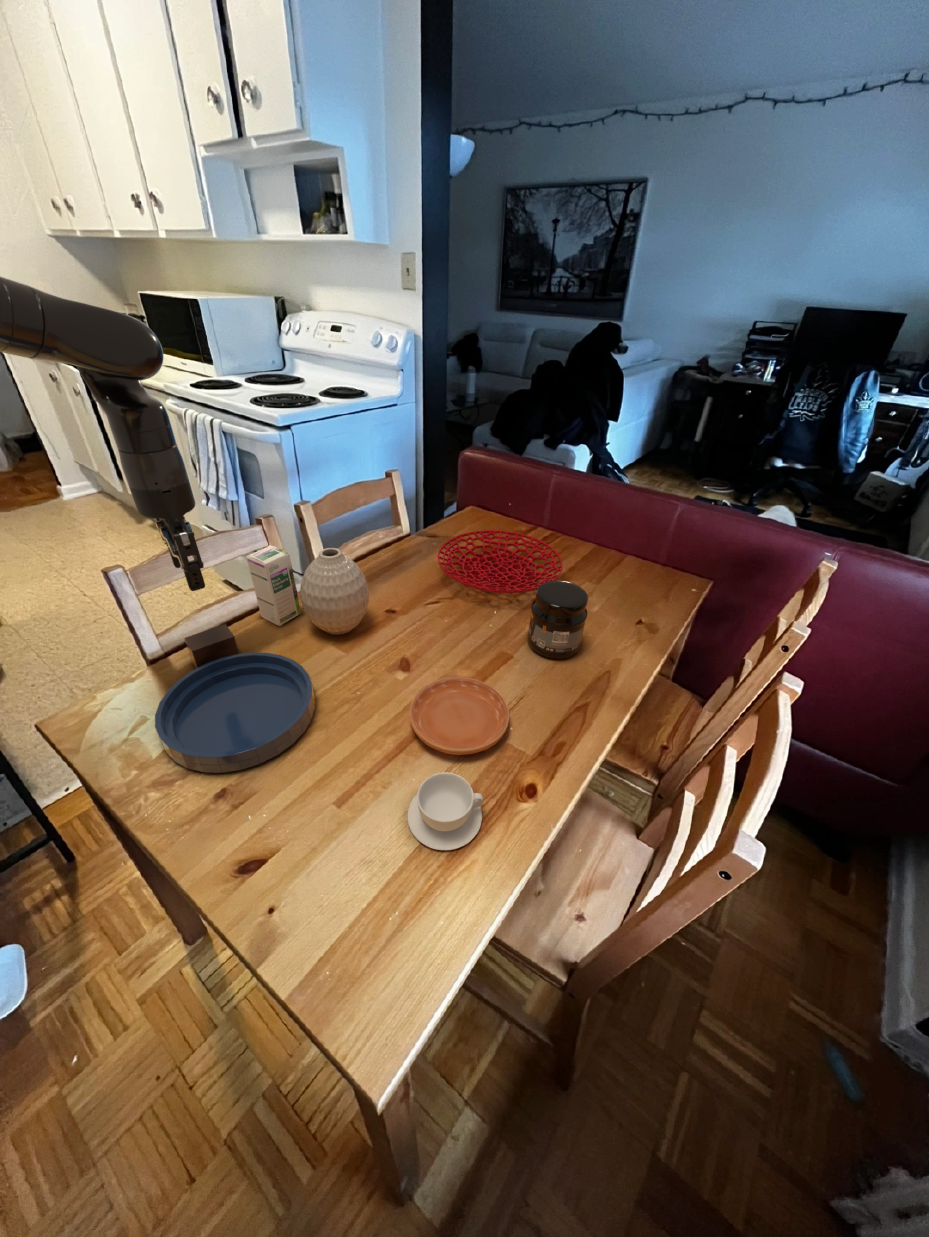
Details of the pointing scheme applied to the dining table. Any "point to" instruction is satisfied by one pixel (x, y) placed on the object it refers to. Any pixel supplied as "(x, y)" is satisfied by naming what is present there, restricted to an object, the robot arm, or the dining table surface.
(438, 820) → the teacup
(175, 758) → the glazed bowl
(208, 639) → the dark brown block
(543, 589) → the supplement container
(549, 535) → the dining table surface
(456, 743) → the saucer
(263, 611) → the syrup box
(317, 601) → the vase
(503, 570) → the bowl
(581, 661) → the dining table surface
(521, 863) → the dining table surface
